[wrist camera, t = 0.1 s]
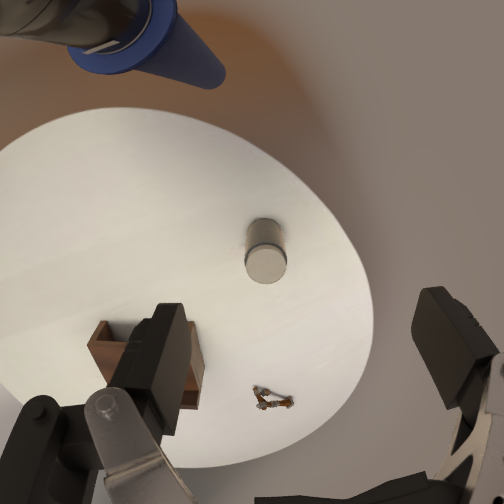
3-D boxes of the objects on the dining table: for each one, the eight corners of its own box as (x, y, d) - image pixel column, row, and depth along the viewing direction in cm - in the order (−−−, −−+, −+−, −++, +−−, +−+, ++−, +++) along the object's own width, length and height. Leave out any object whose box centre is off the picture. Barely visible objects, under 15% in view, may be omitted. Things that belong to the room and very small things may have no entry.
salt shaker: (245, 219, 37) (242, 248, 30) (281, 217, 37) (287, 246, 30) (247, 252, 39) (245, 287, 32) (282, 250, 39) (288, 284, 32)
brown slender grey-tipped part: (252, 385, 49) (261, 407, 46) (285, 385, 54) (295, 405, 51) (246, 390, 50) (255, 412, 47) (279, 389, 55) (288, 409, 52)
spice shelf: (100, 320, 45) (78, 358, 37) (193, 321, 44) (182, 365, 36) (119, 363, 50) (103, 400, 42) (205, 366, 49) (197, 409, 41)
